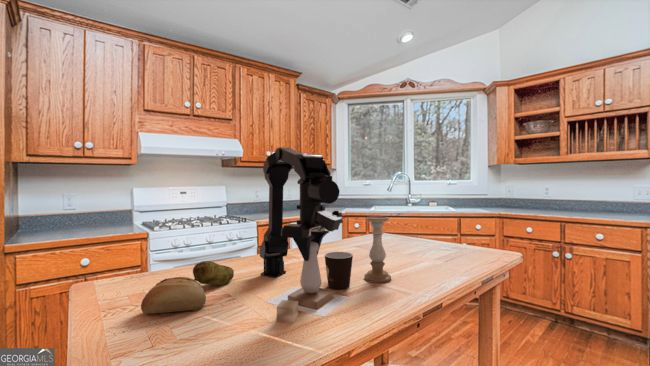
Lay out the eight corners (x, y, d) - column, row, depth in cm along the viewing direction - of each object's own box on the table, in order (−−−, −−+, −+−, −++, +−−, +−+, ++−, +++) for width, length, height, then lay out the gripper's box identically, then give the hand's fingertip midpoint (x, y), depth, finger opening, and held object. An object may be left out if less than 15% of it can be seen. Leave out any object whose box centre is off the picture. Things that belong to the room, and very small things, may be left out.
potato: (238, 285, 98) (238, 259, 98) (194, 293, 92) (194, 265, 92) (232, 278, 105) (231, 254, 105) (190, 285, 99) (190, 259, 99)
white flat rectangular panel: (265, 303, 83) (265, 302, 83) (295, 287, 95) (295, 286, 95) (324, 318, 74) (324, 316, 74) (349, 298, 87) (349, 296, 87)
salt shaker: (300, 287, 87) (300, 240, 87) (320, 286, 88) (320, 240, 87) (300, 294, 81) (300, 244, 81) (322, 294, 82) (322, 244, 82)
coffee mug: (351, 293, 90) (351, 259, 90) (322, 291, 92) (321, 257, 92) (355, 280, 102) (355, 250, 102) (329, 279, 104) (329, 249, 103)
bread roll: (145, 307, 82) (144, 277, 82) (206, 299, 87) (206, 270, 87) (137, 323, 73) (136, 289, 73) (206, 313, 78) (205, 281, 78)
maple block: (276, 323, 72) (276, 306, 72) (282, 316, 76) (282, 300, 76) (293, 325, 71) (293, 307, 71) (298, 317, 75) (298, 301, 75)
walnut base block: (287, 303, 83) (287, 295, 83) (306, 292, 91) (306, 285, 91) (316, 309, 78) (316, 301, 78) (333, 297, 86) (333, 290, 86)
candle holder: (382, 273, 109) (382, 215, 109) (396, 281, 101) (396, 218, 100) (359, 276, 106) (359, 216, 106) (371, 284, 98) (371, 219, 98)
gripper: (318, 205, 72) (318, 272, 72) (352, 199, 88) (352, 255, 88) (279, 203, 77) (280, 266, 78) (318, 198, 94) (318, 250, 94)
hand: (310, 259), depth 84 cm, fingers closed on salt shaker, 4 cm apart
